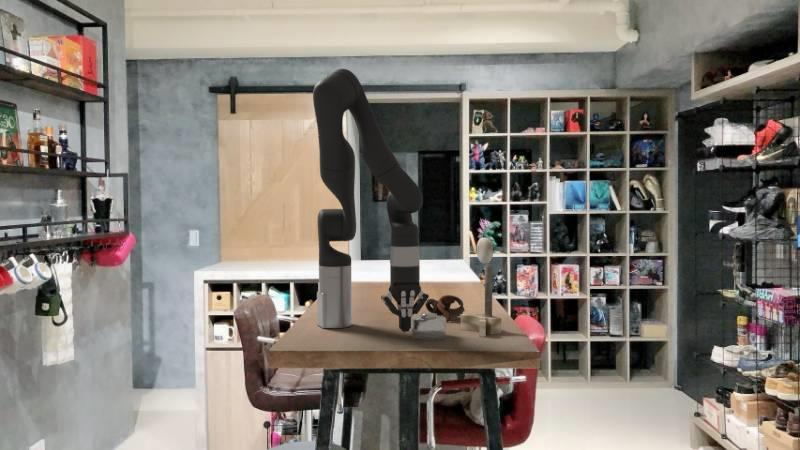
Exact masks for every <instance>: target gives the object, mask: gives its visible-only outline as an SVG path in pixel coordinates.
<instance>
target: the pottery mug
mask: <svg viewBox="0 0 800 450" xmlns="http://www.w3.org/2000/svg"><path fill="white" fill-rule="evenodd" d="M455 302H456V303H458V304H457V305H459V307H455V308H451V305H452V304H455ZM424 305H425V308H426V310H427V311H428V313H435V314H436V315H437V316H443V317H445V318H446V323H447V322H448V320H451V319H454V318H457V317H461V315H462V314H464V312H465V307H464V302H463V300H462V299H461V298H459V297H458V296H456V295H451V294H445V295H443V296H441V297H439V300H437V299H435V298H428V299H427V301H426V302H425V303H424Z"/></svg>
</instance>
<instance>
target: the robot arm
mask: <svg viewBox="0 0 800 450" xmlns="http://www.w3.org/2000/svg"><path fill="white" fill-rule="evenodd" d="M312 102H313V108H314V114H315V115H314V116H315V121H316V126H317V134H318V135H317V136H318V137H317V138H318V147H319V150H318V151H319V175H320V178H321V180H322V183H323V184H324V186H325V187H327V189H328V190H329V191H330V193H332V194H333V196H334V197H335V198H336V199H337V200H338V202H339V203H340V205H341V208H323V209H320V210H319V211H318V214H317V237H318V291H316V323H317V324H316V325H317V326H319V327H320V328H322V329H342V328H349V327H350V326H351V327H352V325H353V323H352V321H353V319H352V318H353V317H352V315H353V314H352V311H353V310H352V309H353V308H352V307H353V306H352V256H351V255H350V254H348V253H345V252H343V251H340V250H338V249H336V248H334V247H333V246H332V245H331V244H330V242H349V241H352V240H354V239H355V237H356V233H357V215H356V214H357V213H356V200H355V183H356V182H355V178H356V175H355V174H356V155H355V151H354V148H353V147H352V145H351V143H350V142H349V141H348V140H347V138H346V137H345V136H344V131H343V130H344V129H343V128H344V127H343V123H344V115H345V113H346V112H347V111H349V112H350V115H351V116H352V118H353V120H354V122H355V125H356V129H357V132H358V139H359V140H358V141H359V145H360V152H361V156H362V158H363V161H364V162H365V164H366V165H367V167H368V169H369V170H370V172H371V174H372V175H373V177H374V179H375V180H376V181H377V183H378V184H380V185H382V186H384V187H386V188H387V190H388V191H389V192H388V194H387V197H386V211H387V217H388V221H389V225H390V234H391V235H390V245H391V246H390V256H389V265H390V266H389V267H390V269H389V271H390V272H389V274H390V275H389V276H390V277H389V279H390V285H389V288H388V292H386V293H385V294H384V295H381V296H380V300H381V301H382V302H383V303H384V305H386V307H387V308H388V310H389V311H390V312H391V314H392V315H395V316H397V317H398V327H399V330H401V332H403V333H406V332H410V330H411V318H412V317H413V316H415V315H417V314H419V313H420V311H421V309H422V308H423V306H424V305H425V303H426V302H427V300H428V299H430V295H429V294H428V293H425V292H424V291H423V290H422V286H421V285H420V280H421V278H420V277H421V276H420V275H421V274H420V269H421V268H420V266H421V265H420V264H421V263H420V262H421V261H420V259H421V257H420V249H419V241H420V240H419V236H420V235H419V227H418V225H417V224H416V223H414V222H413V215H412V214H414V213H417V212H419V210H420V209H421V208H422V206H423V203H424V199H423V194H422V191H421V189H420V187H419V186H418V185H417V183H416V181H414V180H413V179H412V177H411V176H410V175H409V174H408V173H407V172H406V171H405V170H404V169H403V168H402V166H401V165H400V163H399V161H398V160H397V158H396V156H395V155H394V153H393V151H392V150H391V148H390V146H389V144H388V142H387V141H386V139H385V137H384V135H383V133H382V131H381V128H380V127H379V124H378V121H377V119H376V117H375V114H374V111H373V110H372V107H371V104H370V102H369V100H368V98H367V95H366V92H365V90H364V88H363V86H362V84H361V82H360V80H359V78H358V77H357V76H356V74H354V73H353V72H352V71H351V70H348V69H346V68H339V69H336V70H334V71H333V72H331V73H330V74H328V75H326V76H325V77H324V78H322V79H321V80H319V81H318V82H317V83H316V84H315V85H314V88H313V91H312ZM393 299H394V301H395V302H396V306H395V304H394V303H393V302H392V301H393Z"/></svg>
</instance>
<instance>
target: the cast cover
mask: <svg viewBox="0 0 800 450" xmlns="http://www.w3.org/2000/svg"><path fill="white" fill-rule="evenodd" d="M410 330H411V331H410V332H411V336H412V337H411V339H415V340H419V341H439V340H444V339H446V338H447V322H446V318H445V317H443V316H437V314H435V313H431V312H425V313H423V312H422V313H421V314H420V315H413V316H411V329H410Z"/></svg>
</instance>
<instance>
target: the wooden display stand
mask: <svg viewBox="0 0 800 450" xmlns="http://www.w3.org/2000/svg"><path fill="white" fill-rule="evenodd" d="M476 255H477V260H479V262H480V263H481V264H484V313H476V314H468V313H467V314H466V313H462V314H460V330H463V331H464V330H465V331H473V332H477V333H478V332H479V333H478V335H479V337H486V336H487V335H486V333H487V334H490V335H495V334H496V335H498V334H499V335H500V334H502V317H498V316H495V315H493V258H494V257H493V256H494V247H493V243H492V240H491V239H490V238H488V237H481V238H479V240H478V241H477V244H476Z"/></svg>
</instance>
